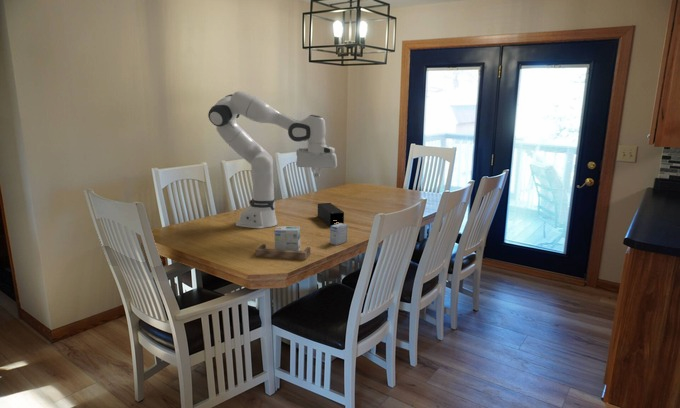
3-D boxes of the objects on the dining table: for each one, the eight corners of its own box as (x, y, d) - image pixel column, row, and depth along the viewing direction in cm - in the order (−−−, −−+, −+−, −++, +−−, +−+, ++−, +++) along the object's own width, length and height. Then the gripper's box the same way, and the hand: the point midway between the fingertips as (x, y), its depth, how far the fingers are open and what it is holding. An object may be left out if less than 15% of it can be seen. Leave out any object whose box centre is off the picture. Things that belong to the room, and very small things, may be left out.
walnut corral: (256, 256, 189) (255, 249, 188) (262, 250, 197) (262, 244, 196) (305, 259, 185) (305, 253, 184) (310, 253, 193) (310, 247, 192)
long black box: (330, 213, 234) (316, 202, 260) (330, 227, 236) (316, 215, 262) (344, 212, 237) (328, 201, 263) (344, 226, 239) (328, 214, 264)
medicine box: (340, 239, 214) (340, 222, 212) (347, 241, 211) (347, 224, 209) (329, 243, 208) (329, 225, 206) (337, 245, 205) (337, 227, 203)
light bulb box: (300, 248, 200) (300, 225, 197) (298, 253, 193) (298, 230, 191) (277, 248, 200) (276, 225, 198) (274, 253, 193) (273, 229, 191)
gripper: (294, 148, 215) (294, 176, 218) (335, 149, 211) (335, 178, 214) (298, 147, 221) (298, 174, 224) (338, 148, 217) (337, 176, 220)
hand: (316, 176), depth 219 cm, fingers closed
